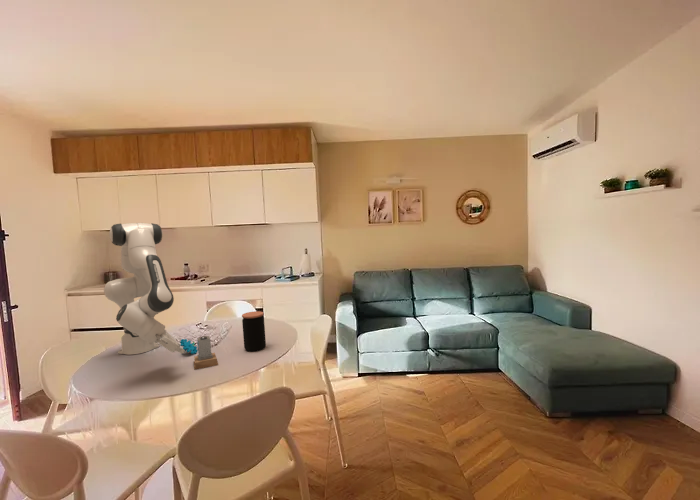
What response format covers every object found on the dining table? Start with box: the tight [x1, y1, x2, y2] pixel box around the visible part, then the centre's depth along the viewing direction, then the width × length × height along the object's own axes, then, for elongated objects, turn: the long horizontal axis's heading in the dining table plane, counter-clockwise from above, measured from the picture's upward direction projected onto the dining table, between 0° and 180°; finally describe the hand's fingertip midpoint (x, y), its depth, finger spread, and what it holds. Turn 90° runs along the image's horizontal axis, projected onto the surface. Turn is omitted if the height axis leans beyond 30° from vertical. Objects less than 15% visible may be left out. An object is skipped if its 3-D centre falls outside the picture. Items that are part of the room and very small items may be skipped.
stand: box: [193, 352, 219, 371], centre depth 163 cm, size 10×10×3 cm
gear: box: [179, 338, 198, 355], centre depth 179 cm, size 11×6×10 cm
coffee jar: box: [241, 310, 267, 353], centre depth 180 cm, size 11×11×18 cm
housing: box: [196, 335, 213, 361], centre depth 163 cm, size 6×6×10 cm
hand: (181, 349), depth 157 cm, fingers open, 8 cm apart
